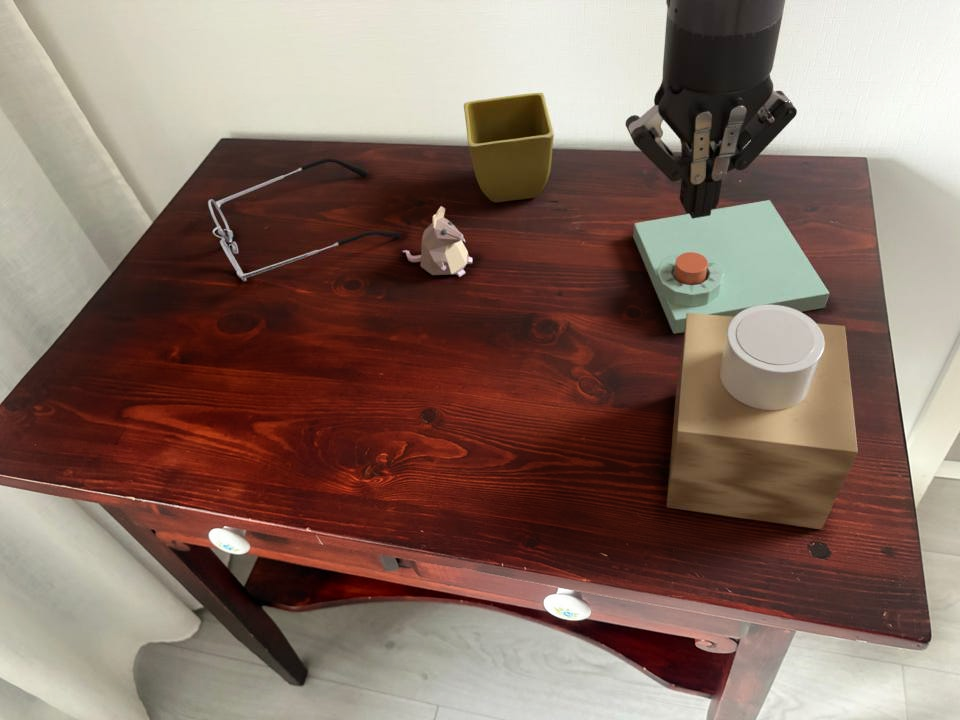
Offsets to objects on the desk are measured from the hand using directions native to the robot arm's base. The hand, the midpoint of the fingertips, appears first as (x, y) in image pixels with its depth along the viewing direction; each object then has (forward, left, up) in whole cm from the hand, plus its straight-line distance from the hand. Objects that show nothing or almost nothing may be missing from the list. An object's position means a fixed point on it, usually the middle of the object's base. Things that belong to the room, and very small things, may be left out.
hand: (697, 211), depth 63 cm
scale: (0, -5, -10) cm, 12 cm away
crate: (-14, +12, -10) cm, 21 cm away
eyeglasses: (+38, +17, -11) cm, 43 cm away
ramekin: (-14, +12, 0) cm, 18 cm away
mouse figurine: (+23, +11, -11) cm, 28 cm away
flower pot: (+25, -3, -11) cm, 28 cm away
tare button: (0, 0, -7) cm, 7 cm away
